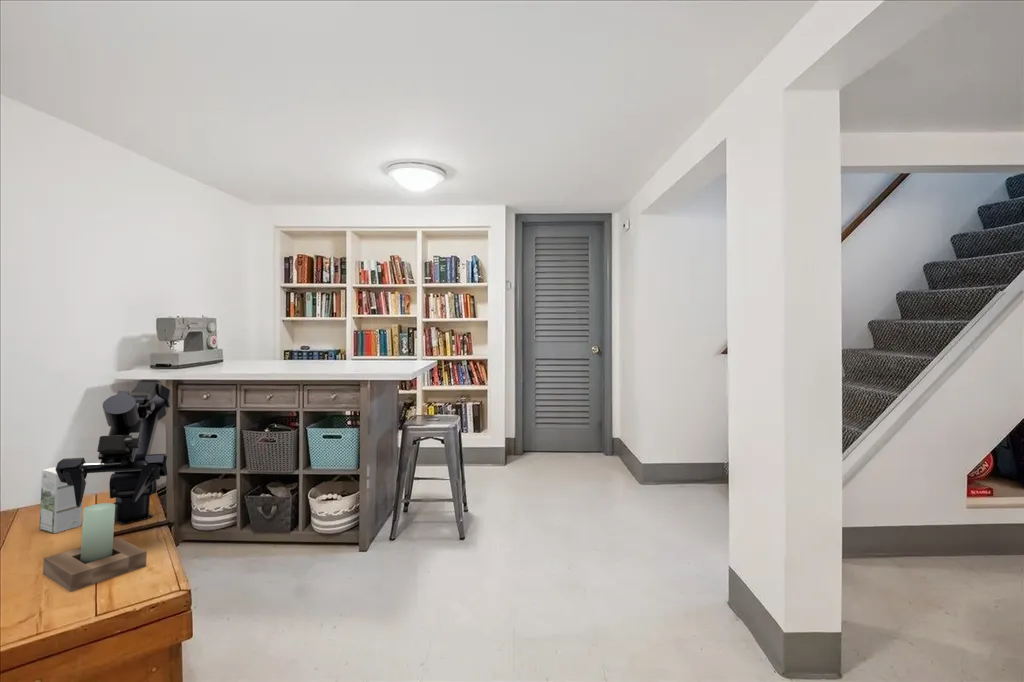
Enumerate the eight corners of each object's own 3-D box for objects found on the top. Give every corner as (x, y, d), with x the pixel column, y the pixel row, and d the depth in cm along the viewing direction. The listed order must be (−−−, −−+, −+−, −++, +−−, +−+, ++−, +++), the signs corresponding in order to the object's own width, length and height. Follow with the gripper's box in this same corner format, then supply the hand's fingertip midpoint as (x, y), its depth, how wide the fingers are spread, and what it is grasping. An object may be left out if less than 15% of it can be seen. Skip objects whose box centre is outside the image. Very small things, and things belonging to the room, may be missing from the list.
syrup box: (82, 526, 115) (86, 466, 115) (52, 534, 109) (56, 472, 109) (67, 521, 117) (71, 463, 117) (37, 530, 111) (41, 468, 111)
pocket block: (116, 553, 102) (117, 537, 102) (145, 568, 97) (146, 551, 97) (42, 575, 92) (43, 558, 92) (70, 594, 86) (71, 575, 86)
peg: (104, 561, 98) (108, 501, 98) (116, 568, 95) (120, 506, 95) (74, 571, 93) (78, 508, 93) (86, 577, 91) (90, 513, 91)
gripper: (61, 420, 99) (37, 488, 90) (170, 418, 108) (158, 480, 99) (72, 449, 106) (50, 515, 96) (173, 445, 115) (162, 505, 105)
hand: (106, 503), depth 99 cm, fingers open, 9 cm apart
